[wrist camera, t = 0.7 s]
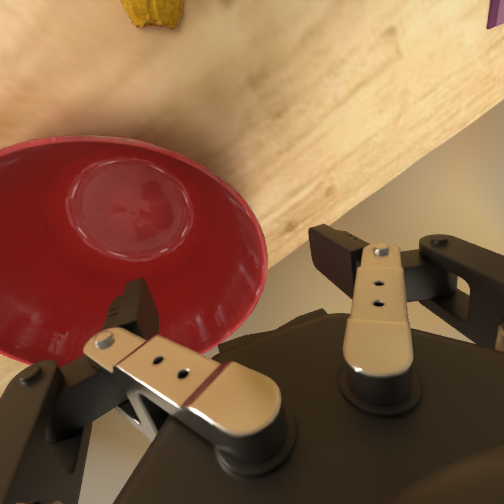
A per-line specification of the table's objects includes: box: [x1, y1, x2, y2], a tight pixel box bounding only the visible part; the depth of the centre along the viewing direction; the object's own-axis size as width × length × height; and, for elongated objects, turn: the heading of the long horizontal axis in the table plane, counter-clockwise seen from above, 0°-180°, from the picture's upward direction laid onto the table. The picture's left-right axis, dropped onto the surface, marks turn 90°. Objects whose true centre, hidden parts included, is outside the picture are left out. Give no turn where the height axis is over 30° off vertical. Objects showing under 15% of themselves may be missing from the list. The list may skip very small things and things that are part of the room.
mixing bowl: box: [0, 135, 268, 368], centre depth 34 cm, size 28×28×16 cm
